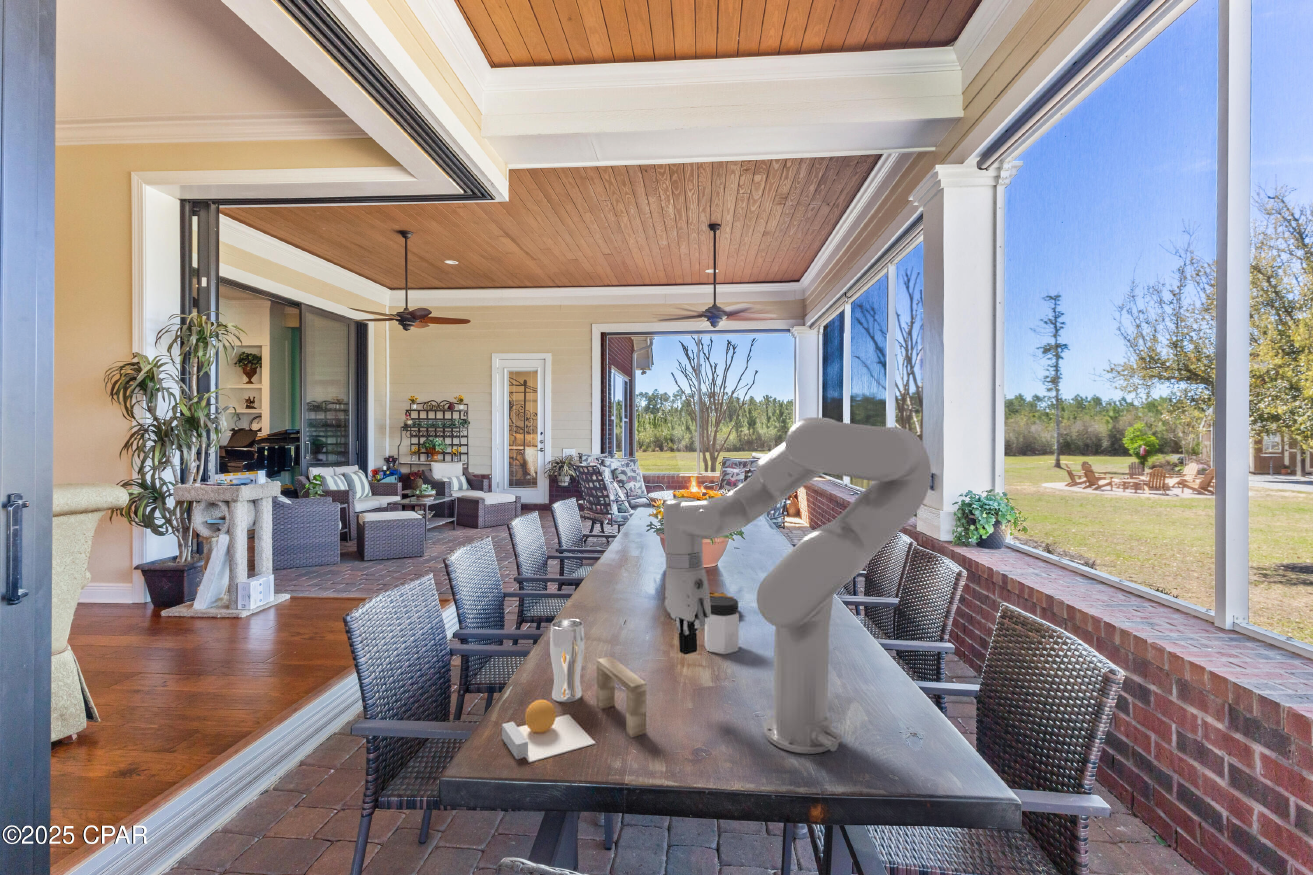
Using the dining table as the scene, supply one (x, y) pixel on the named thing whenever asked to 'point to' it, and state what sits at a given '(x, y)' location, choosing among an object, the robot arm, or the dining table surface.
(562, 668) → the beer glass
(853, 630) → the dining table surface
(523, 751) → the stopper wall
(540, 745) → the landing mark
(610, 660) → the bridge
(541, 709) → the ball
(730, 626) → the jar
